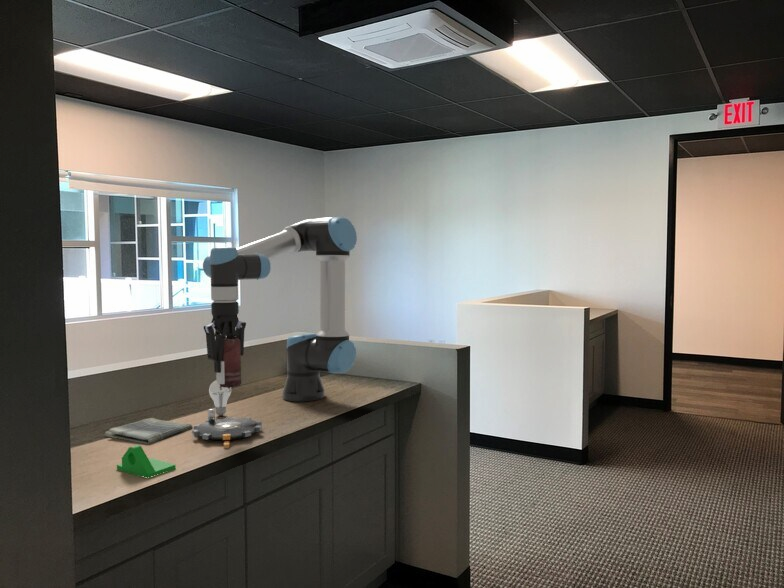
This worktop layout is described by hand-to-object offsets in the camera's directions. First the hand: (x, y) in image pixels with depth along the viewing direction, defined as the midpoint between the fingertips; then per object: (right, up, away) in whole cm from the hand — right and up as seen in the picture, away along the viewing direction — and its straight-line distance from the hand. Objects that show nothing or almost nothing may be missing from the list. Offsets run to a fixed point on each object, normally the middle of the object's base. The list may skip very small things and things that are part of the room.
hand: (226, 382), depth 178 cm
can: (+1, -1, +1) cm, 2 cm away
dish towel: (-24, -16, +4) cm, 29 cm away
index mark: (+3, -16, -10) cm, 19 cm away
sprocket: (0, -14, +1) cm, 14 cm away
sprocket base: (0, -15, +1) cm, 15 cm away
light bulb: (-8, -14, +22) cm, 27 cm away
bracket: (-12, -18, -27) cm, 35 cm away
